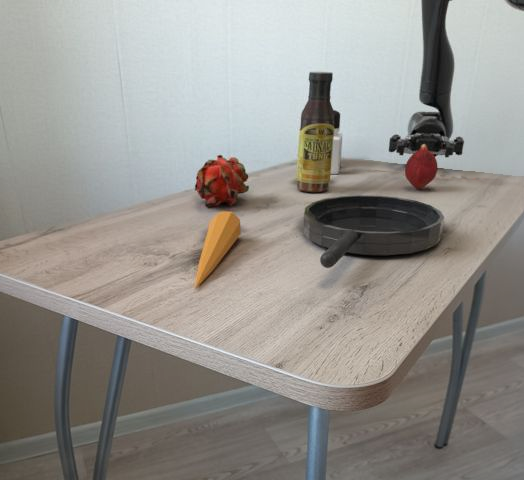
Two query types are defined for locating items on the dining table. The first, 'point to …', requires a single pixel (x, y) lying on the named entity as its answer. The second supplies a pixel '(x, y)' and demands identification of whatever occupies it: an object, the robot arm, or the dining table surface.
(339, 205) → the pan
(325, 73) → the sauce bottle
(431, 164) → the onion
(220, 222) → the carrot
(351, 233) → the pan handle
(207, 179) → the dragon fruit
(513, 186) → the dining table surface
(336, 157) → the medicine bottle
